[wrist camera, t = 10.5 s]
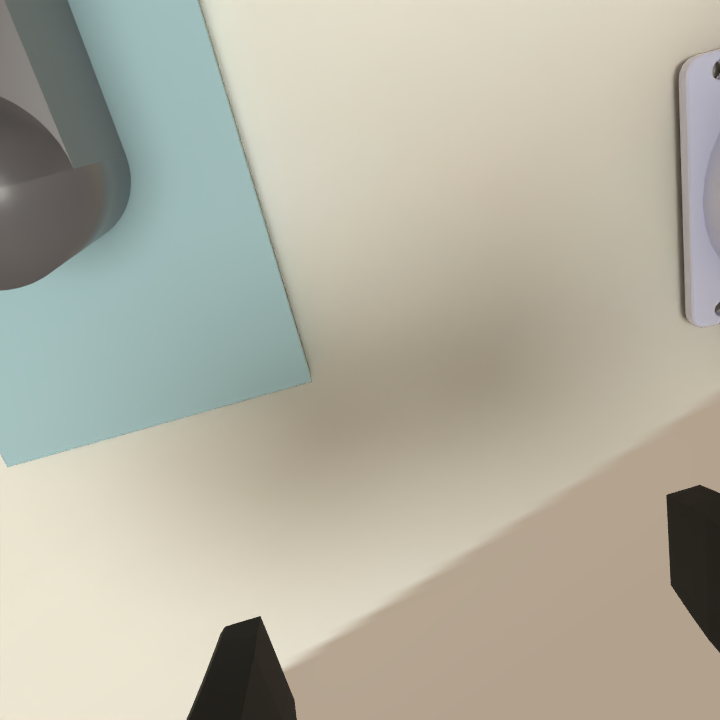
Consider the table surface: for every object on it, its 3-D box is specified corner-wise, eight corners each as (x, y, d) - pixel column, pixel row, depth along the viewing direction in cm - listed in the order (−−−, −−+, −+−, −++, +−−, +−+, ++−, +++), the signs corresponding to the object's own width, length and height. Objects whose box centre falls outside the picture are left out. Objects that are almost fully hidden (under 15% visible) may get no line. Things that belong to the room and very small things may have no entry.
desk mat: (38, -539, 11) (22, -586, 11) (309, 371, 19) (311, 381, 18) (-461, -437, 11) (-513, -478, 10) (17, 453, 18) (7, 467, 18)
